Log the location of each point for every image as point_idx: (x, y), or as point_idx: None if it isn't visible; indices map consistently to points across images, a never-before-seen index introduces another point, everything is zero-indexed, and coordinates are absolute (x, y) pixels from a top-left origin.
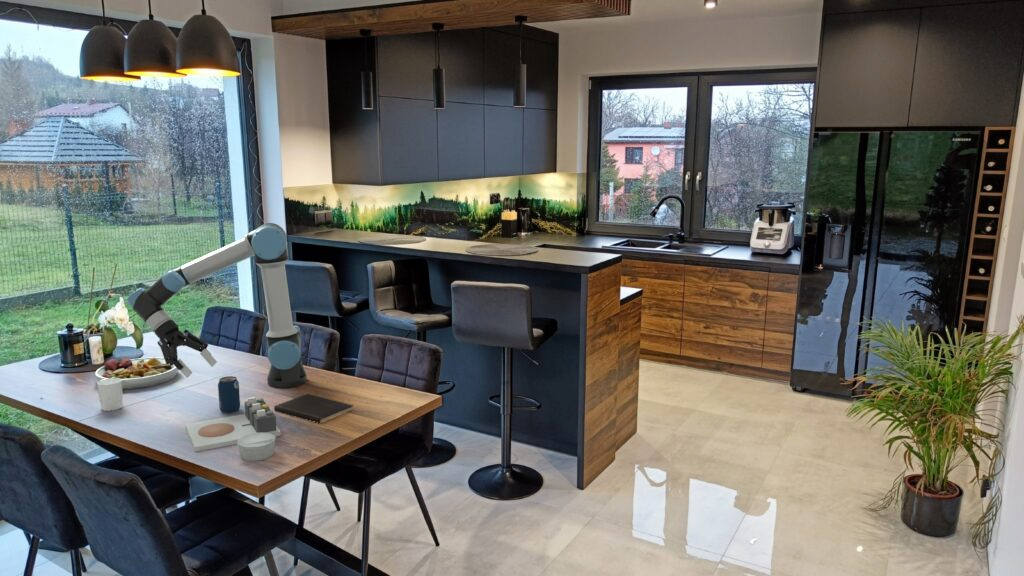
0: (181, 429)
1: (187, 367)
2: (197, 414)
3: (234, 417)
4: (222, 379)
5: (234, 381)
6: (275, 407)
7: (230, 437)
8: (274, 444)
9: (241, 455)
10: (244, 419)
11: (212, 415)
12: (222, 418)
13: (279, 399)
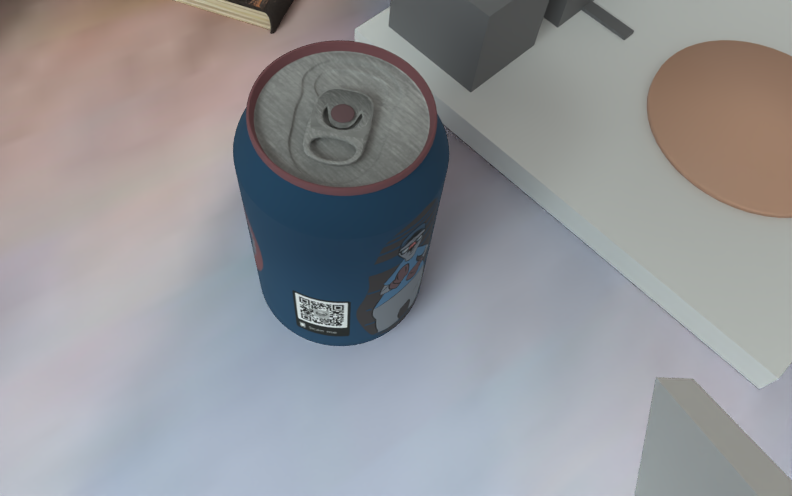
0: (787, 406)
1: (725, 447)
2: (485, 493)
3: (527, 133)
4: (342, 179)
5: (361, 54)
6: (275, 8)
7: (786, 17)
8: None
9: None
10: (534, 67)
11: (466, 356)
12: (572, 192)
13: (46, 87)
